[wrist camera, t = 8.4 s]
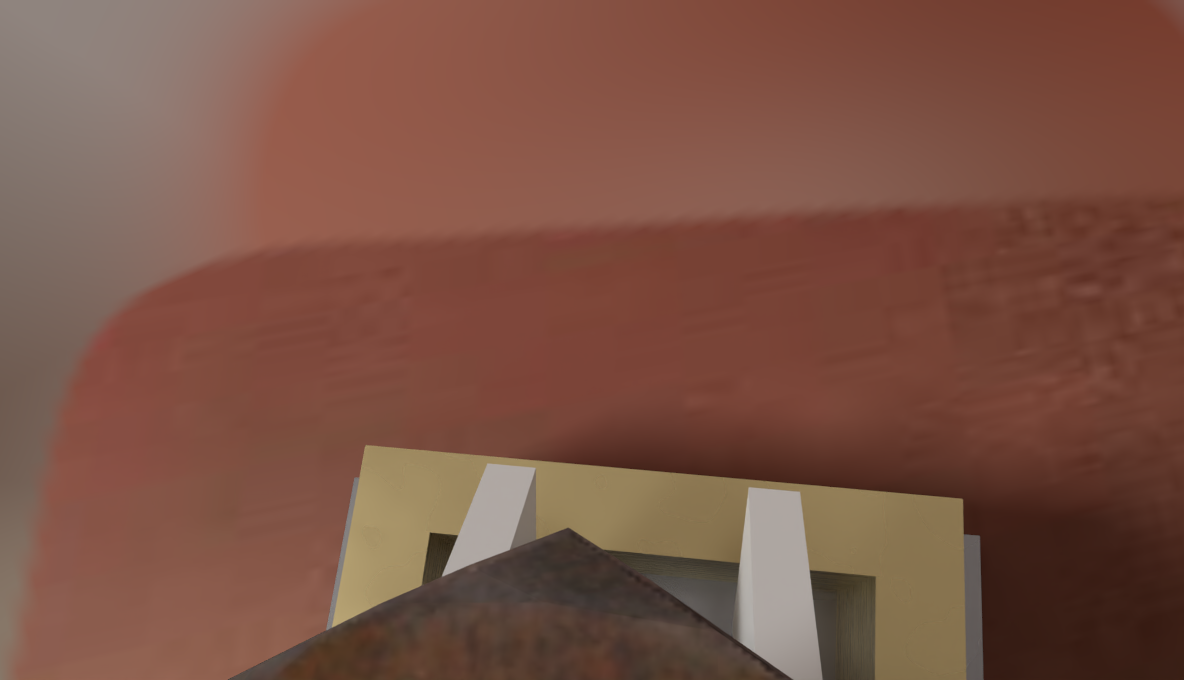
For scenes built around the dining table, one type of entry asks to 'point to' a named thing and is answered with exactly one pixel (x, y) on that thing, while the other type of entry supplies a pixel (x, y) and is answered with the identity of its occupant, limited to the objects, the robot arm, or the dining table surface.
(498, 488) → the robot arm
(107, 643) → the dining table surface
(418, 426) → the dining table surface
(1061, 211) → the dining table surface
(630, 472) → the mount
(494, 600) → the bolt
